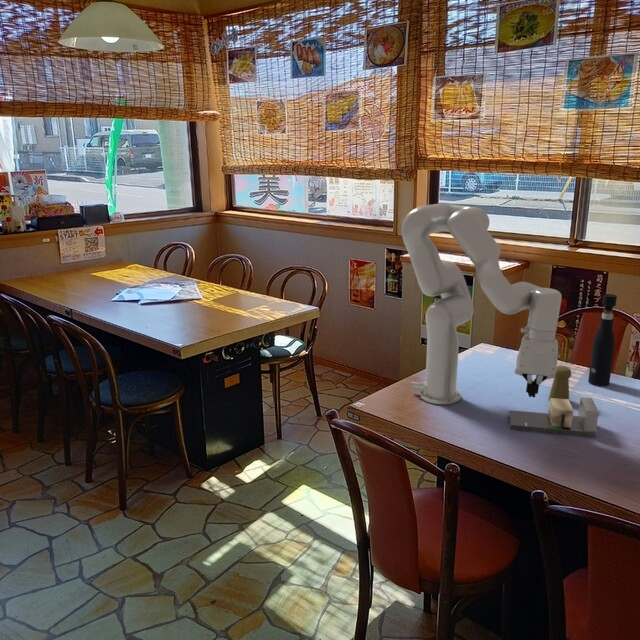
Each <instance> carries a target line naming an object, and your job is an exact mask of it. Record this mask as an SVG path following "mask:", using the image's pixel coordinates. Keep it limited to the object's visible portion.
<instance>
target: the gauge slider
mask: <svg viewBox="0 0 640 640" xmlns="http://www.w3.org/2000/svg"><path fill="white" fill-rule="evenodd" d="M548 402H549V404H548V410H547V411H548V415H549V418H550V421H551V424H552V426H556V427H561V428H564V427H567V428H571V427H572V419H573V416H574V409H573V406H572V404H571V402H570V398H569V399H557V398H550V401H548Z"/></svg>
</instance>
